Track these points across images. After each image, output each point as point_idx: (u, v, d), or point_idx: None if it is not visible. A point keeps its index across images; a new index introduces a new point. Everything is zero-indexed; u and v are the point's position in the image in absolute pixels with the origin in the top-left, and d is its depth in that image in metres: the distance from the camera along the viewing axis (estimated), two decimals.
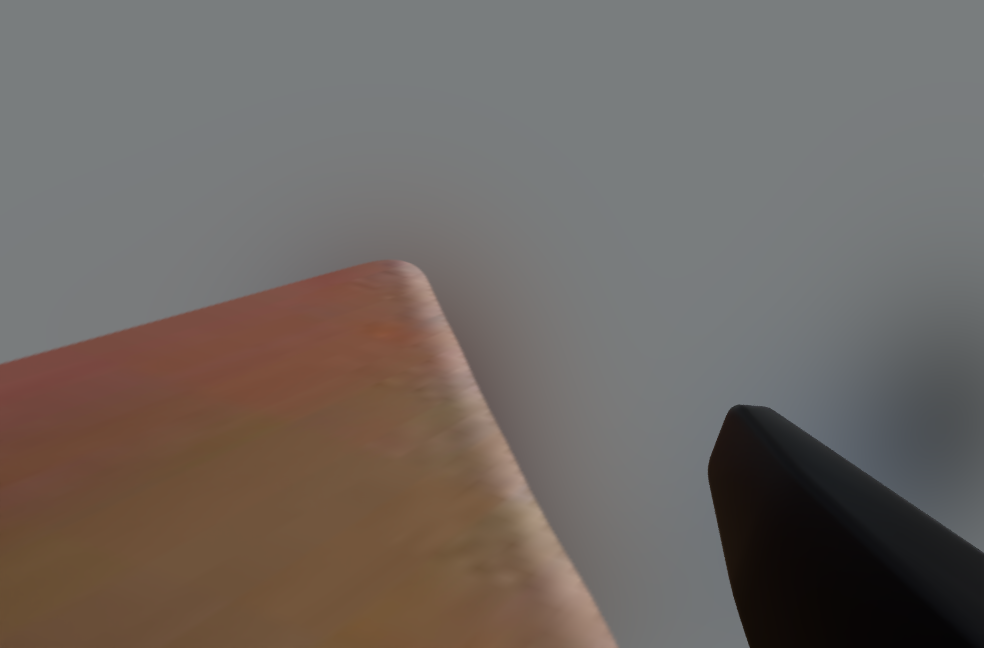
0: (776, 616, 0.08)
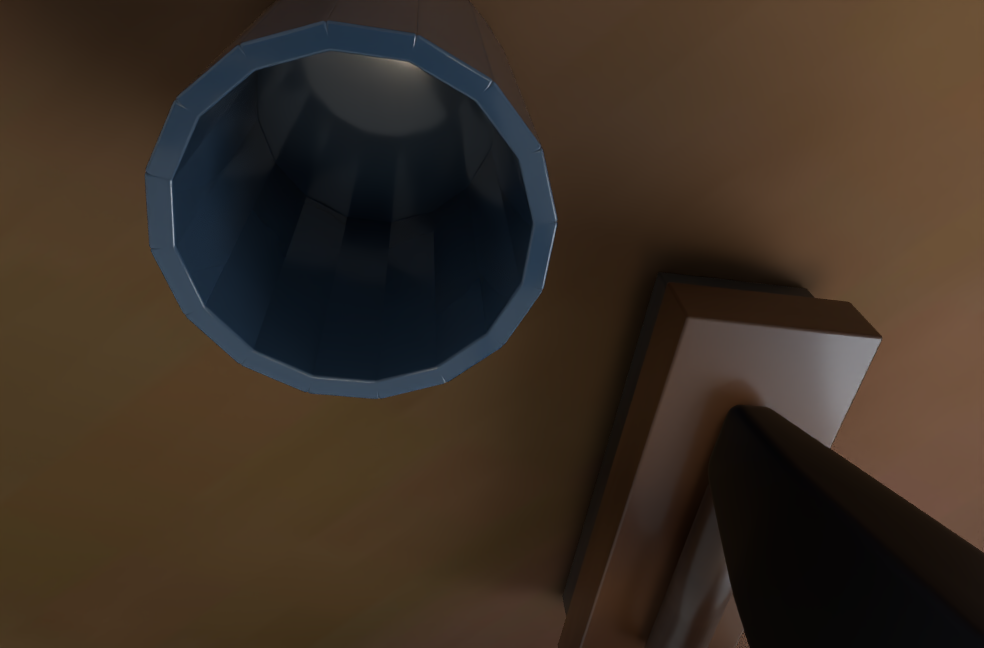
0: (776, 616, 0.08)
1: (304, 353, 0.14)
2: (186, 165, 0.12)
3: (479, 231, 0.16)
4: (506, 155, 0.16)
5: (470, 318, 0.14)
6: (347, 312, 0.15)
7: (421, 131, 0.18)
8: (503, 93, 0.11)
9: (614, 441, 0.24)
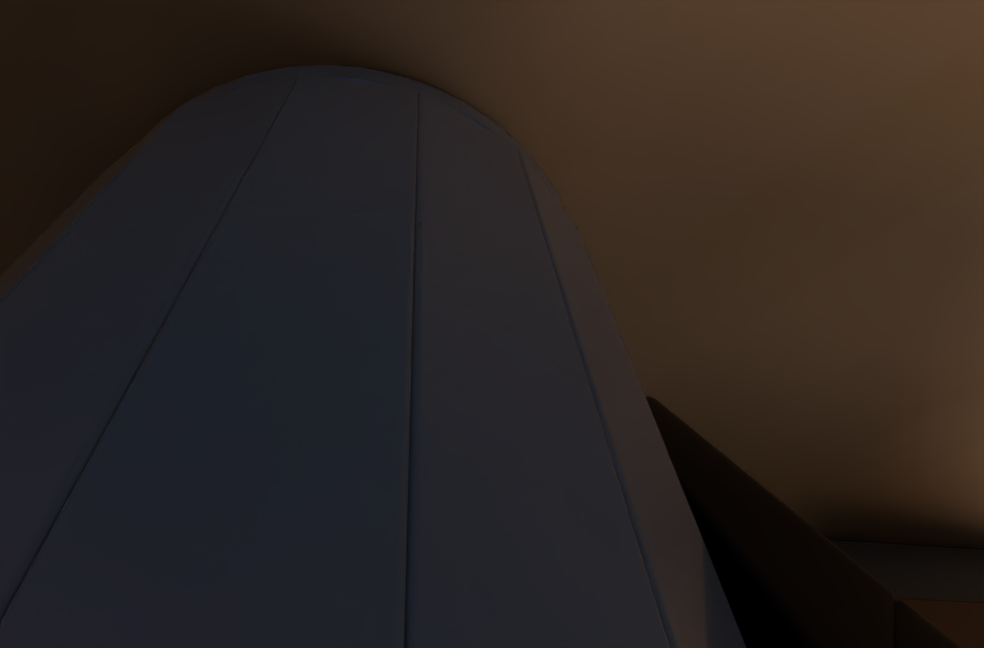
0: None
1: None
2: None
3: None
4: None
5: None
6: None
7: None
8: None
9: None
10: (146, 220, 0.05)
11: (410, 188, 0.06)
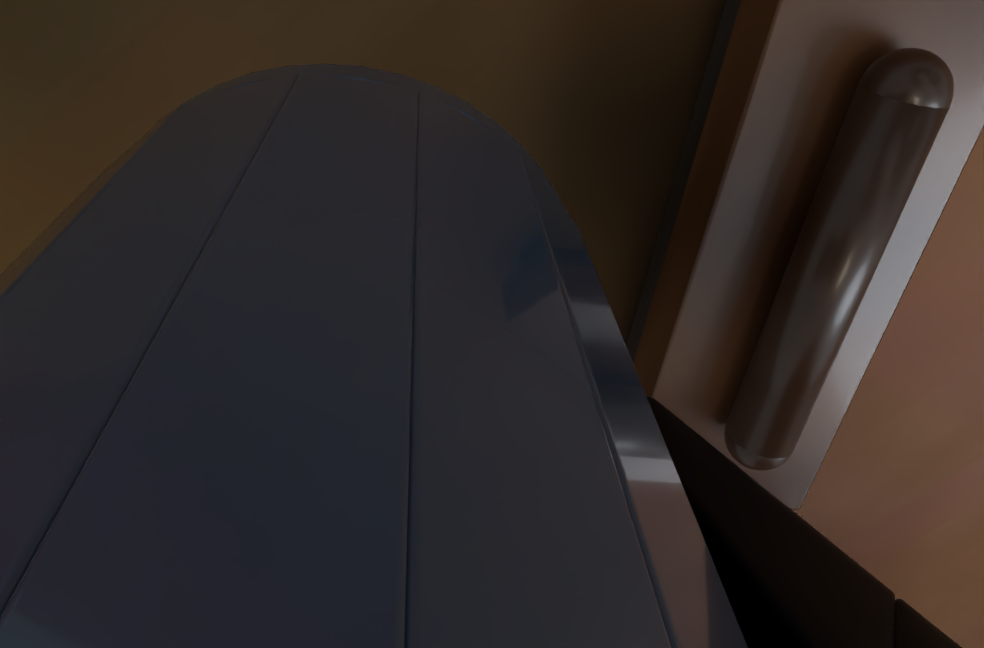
0: None
1: None
2: None
3: None
4: None
5: None
6: None
7: None
8: None
9: (685, 166, 0.19)
10: (146, 218, 0.05)
11: (410, 187, 0.06)
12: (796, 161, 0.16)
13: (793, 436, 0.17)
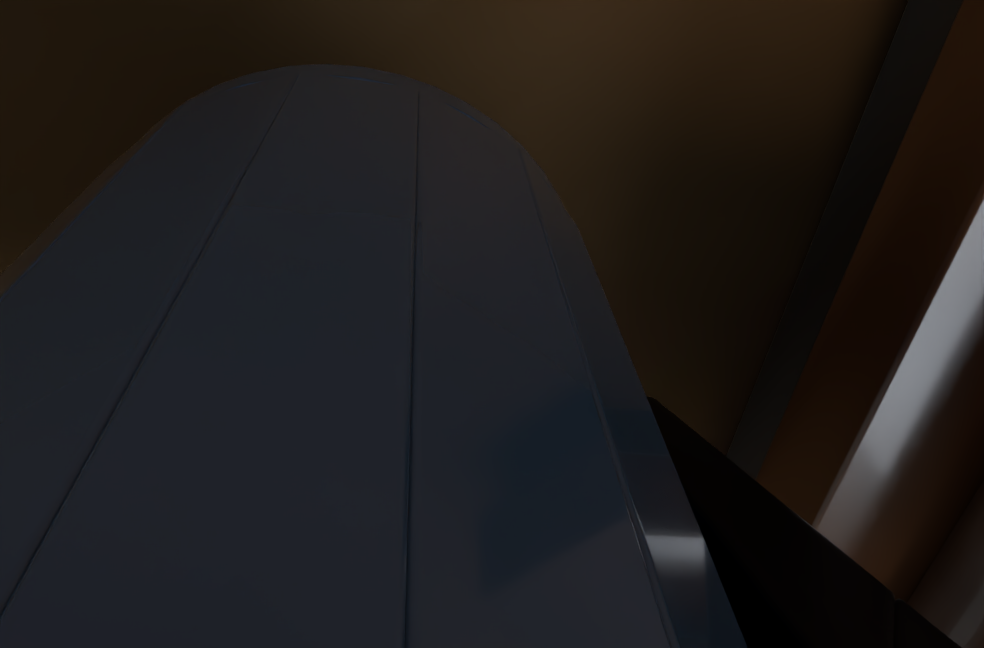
0: None
1: None
2: None
3: None
4: None
5: None
6: None
7: None
8: None
9: (831, 240, 0.12)
10: (145, 219, 0.05)
11: (410, 187, 0.06)
12: None
13: None
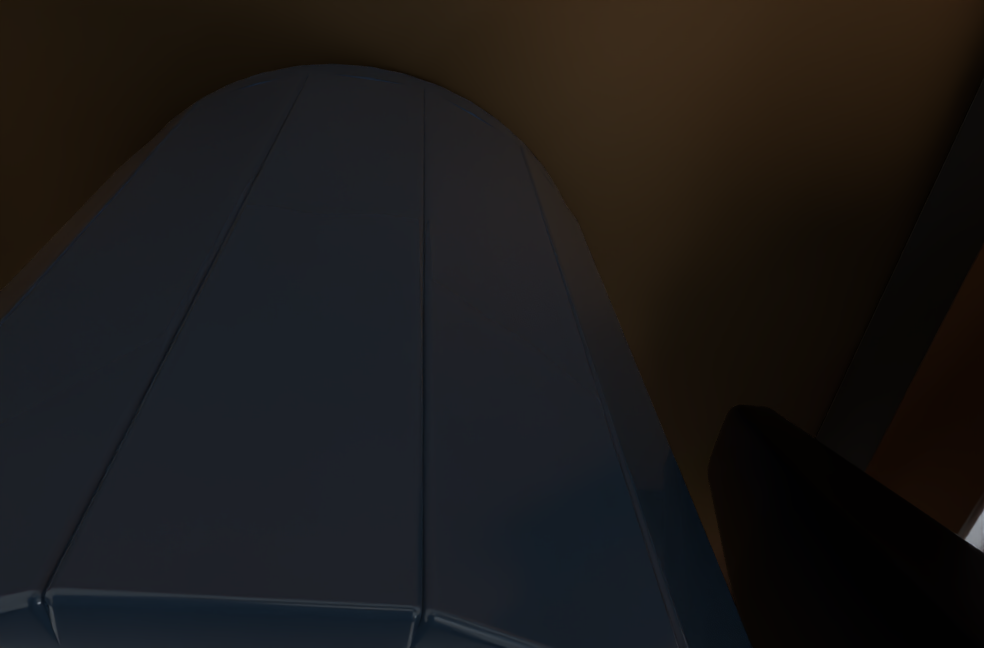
0: (776, 615, 0.08)
1: None
2: None
3: None
4: None
5: None
6: None
7: None
8: None
9: (902, 311, 0.11)
10: (168, 210, 0.05)
11: (418, 181, 0.06)
12: None
13: None
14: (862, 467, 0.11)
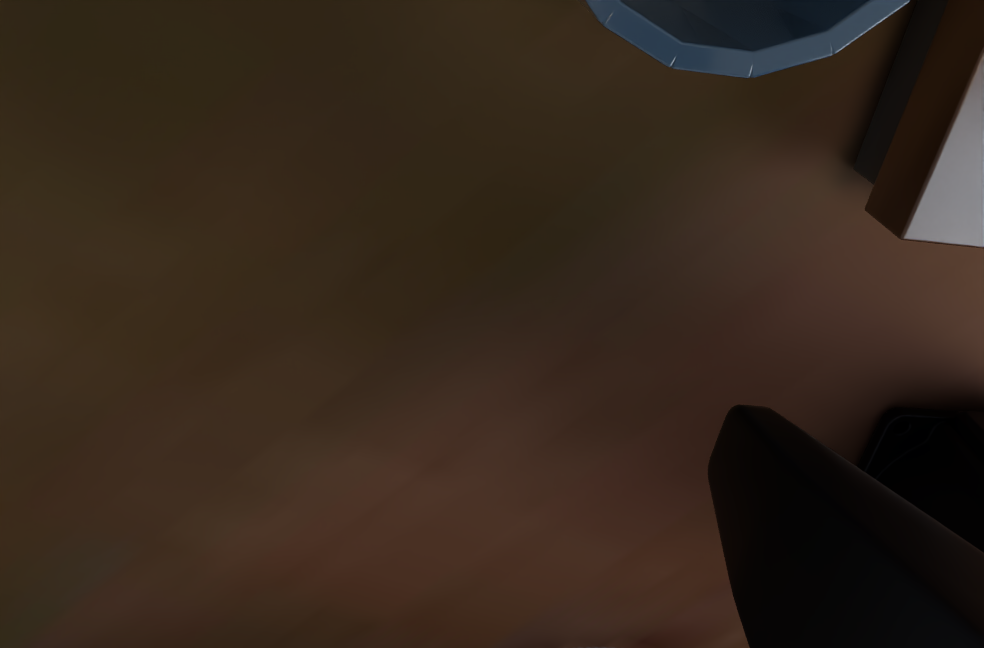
0: (776, 615, 0.08)
1: (660, 25, 0.12)
2: None
3: None
4: None
5: None
6: (668, 15, 0.13)
7: None
8: None
9: None
10: None
11: None
12: None
13: None
14: None
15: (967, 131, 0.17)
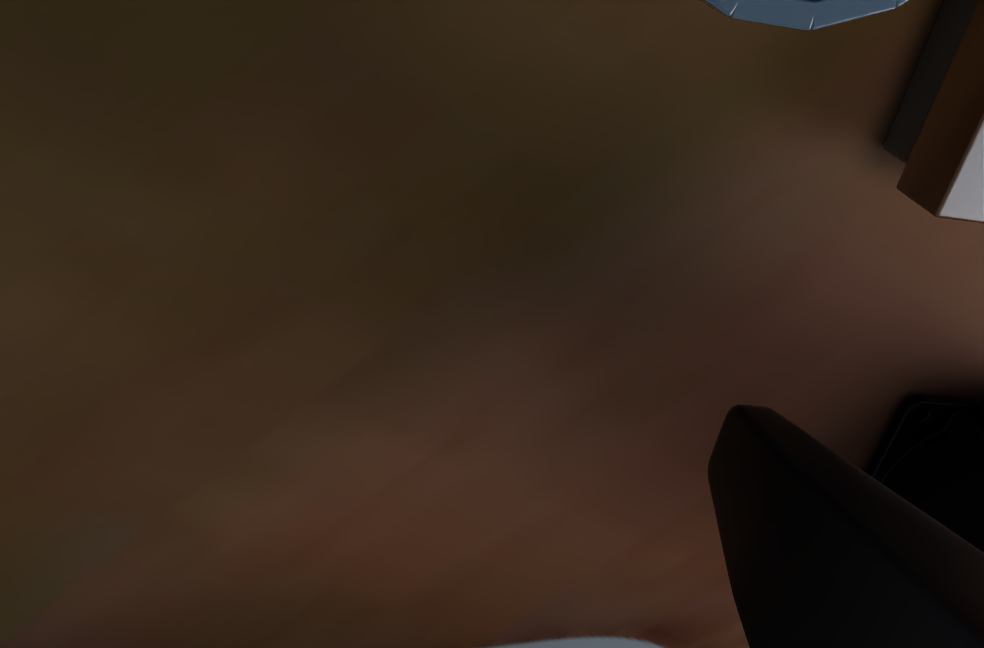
0: (776, 616, 0.08)
1: None
2: None
3: None
4: None
5: None
6: None
7: None
8: None
9: None
10: None
11: None
12: None
13: None
14: None
15: None
